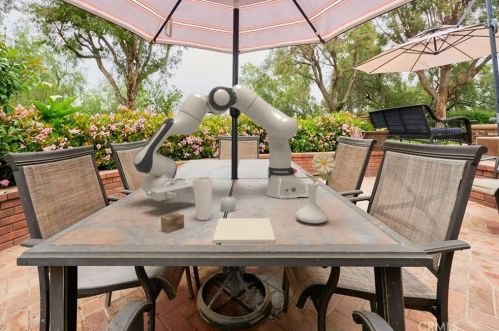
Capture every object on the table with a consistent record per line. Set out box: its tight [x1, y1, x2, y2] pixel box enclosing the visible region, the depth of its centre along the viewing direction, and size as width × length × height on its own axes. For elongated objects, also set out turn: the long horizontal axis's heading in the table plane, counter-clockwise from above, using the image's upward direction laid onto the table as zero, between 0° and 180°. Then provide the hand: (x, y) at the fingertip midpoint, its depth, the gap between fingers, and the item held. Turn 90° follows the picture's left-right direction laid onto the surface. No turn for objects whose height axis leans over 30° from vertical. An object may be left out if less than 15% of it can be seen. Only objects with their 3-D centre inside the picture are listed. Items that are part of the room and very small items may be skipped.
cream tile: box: [212, 217, 276, 244], centre depth 81 cm, size 18×18×1 cm
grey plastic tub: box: [220, 196, 237, 213], centre depth 103 cm, size 6×6×5 cm
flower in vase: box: [295, 151, 337, 224], centre depth 89 cm, size 13×11×25 cm
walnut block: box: [160, 212, 185, 234], centre depth 82 cm, size 6×4×4 cm, turn 141°
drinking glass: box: [192, 176, 213, 221], centre depth 92 cm, size 7×7×15 cm
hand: (187, 193), depth 98 cm, fingers open, 8 cm apart
